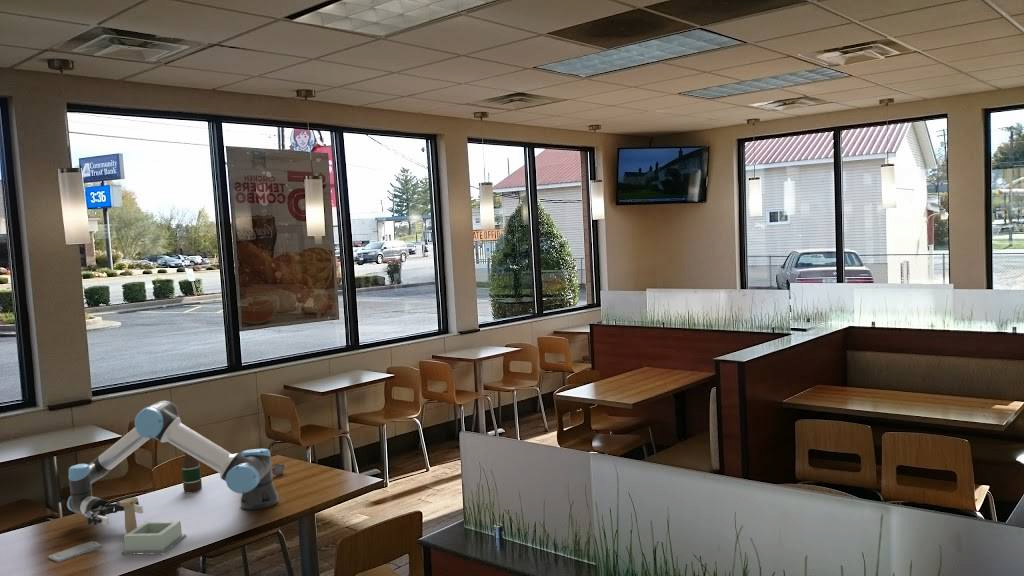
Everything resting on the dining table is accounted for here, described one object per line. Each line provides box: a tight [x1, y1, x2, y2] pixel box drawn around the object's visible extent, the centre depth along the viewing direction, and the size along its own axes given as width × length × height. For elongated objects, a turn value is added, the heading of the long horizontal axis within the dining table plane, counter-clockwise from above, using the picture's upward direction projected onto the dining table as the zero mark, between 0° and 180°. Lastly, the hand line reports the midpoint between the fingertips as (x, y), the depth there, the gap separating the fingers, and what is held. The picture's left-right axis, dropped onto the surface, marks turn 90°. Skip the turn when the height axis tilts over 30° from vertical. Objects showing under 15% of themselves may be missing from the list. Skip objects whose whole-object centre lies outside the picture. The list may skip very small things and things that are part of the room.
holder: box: [120, 520, 187, 555], centre depth 297 cm, size 16×16×6 cm
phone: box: [48, 540, 103, 563], centre depth 295 cm, size 8×16×1 cm, turn 144°
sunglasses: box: [271, 463, 285, 477], centre depth 379 cm, size 16×17×5 cm
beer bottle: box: [181, 452, 203, 493], centre depth 360 cm, size 8×8×24 cm
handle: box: [119, 496, 139, 535], centre depth 305 cm, size 5×6×15 cm
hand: (125, 515), depth 306 cm, fingers open, 13 cm apart
